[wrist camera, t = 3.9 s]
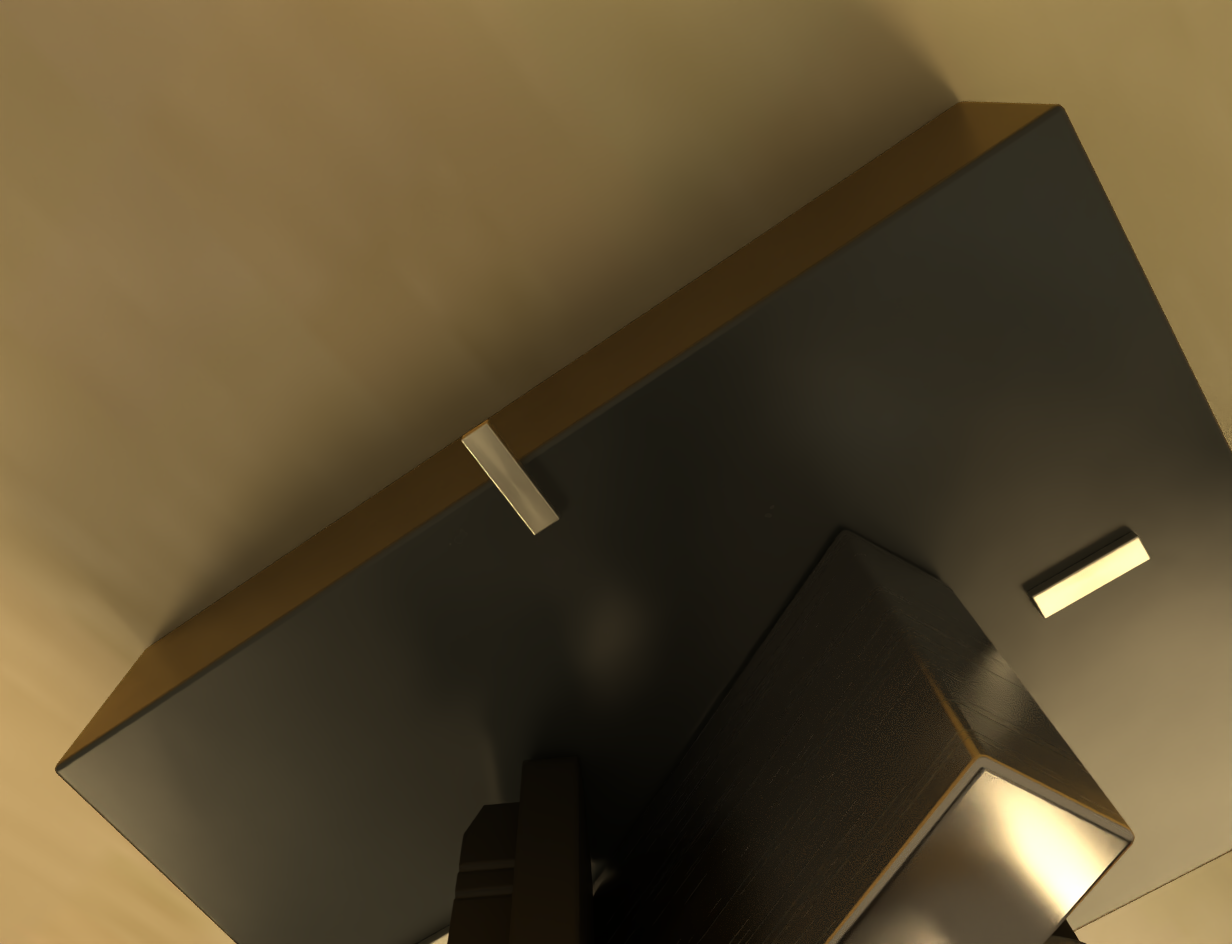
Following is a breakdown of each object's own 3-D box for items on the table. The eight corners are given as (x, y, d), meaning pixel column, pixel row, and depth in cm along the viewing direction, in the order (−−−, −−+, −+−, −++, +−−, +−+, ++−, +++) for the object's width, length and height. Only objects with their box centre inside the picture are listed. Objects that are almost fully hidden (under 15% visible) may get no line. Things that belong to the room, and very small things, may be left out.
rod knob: (841, 523, 12) (995, 776, 8) (951, 584, 12) (1160, 860, 8) (550, 940, 14) (538, 1334, 10) (652, 984, 14) (686, 1383, 10)
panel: (940, 57, 13) (1045, 48, 10) (1265, 682, 17) (1415, 810, 14) (115, 619, 16) (7, 744, 13) (549, 1068, 19) (543, 1249, 16)
